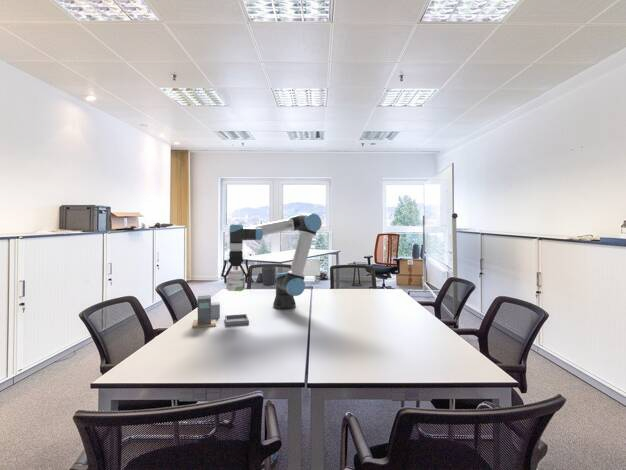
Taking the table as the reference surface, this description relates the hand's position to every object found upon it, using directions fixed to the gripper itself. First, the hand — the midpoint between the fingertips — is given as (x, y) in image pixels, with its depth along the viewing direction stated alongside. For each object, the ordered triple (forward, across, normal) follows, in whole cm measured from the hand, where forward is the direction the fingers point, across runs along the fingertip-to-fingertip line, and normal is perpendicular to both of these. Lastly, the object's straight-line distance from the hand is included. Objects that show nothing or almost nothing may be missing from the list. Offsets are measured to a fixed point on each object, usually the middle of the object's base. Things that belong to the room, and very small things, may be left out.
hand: (235, 288), depth 200 cm
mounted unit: (+18, +17, +6) cm, 26 cm away
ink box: (+1, 0, 0) cm, 1 cm away
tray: (+18, 0, +7) cm, 19 cm away
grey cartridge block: (+18, +12, -8) cm, 23 cm away
